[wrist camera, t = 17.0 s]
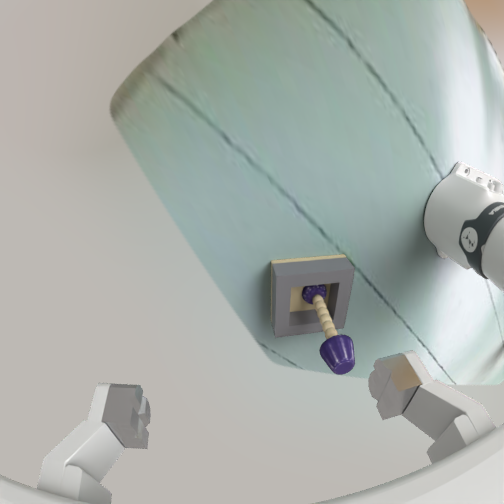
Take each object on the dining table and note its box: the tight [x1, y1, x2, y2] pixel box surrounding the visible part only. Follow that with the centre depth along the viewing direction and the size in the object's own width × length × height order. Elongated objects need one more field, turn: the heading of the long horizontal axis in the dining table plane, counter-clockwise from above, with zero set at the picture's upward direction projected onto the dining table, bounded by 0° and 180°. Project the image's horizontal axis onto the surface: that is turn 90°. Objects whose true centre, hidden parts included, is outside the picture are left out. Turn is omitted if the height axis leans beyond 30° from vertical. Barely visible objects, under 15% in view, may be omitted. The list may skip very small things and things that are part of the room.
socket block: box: [271, 254, 355, 337], centre depth 48 cm, size 12×12×4 cm
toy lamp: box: [302, 284, 355, 375], centre depth 42 cm, size 5×5×17 cm
